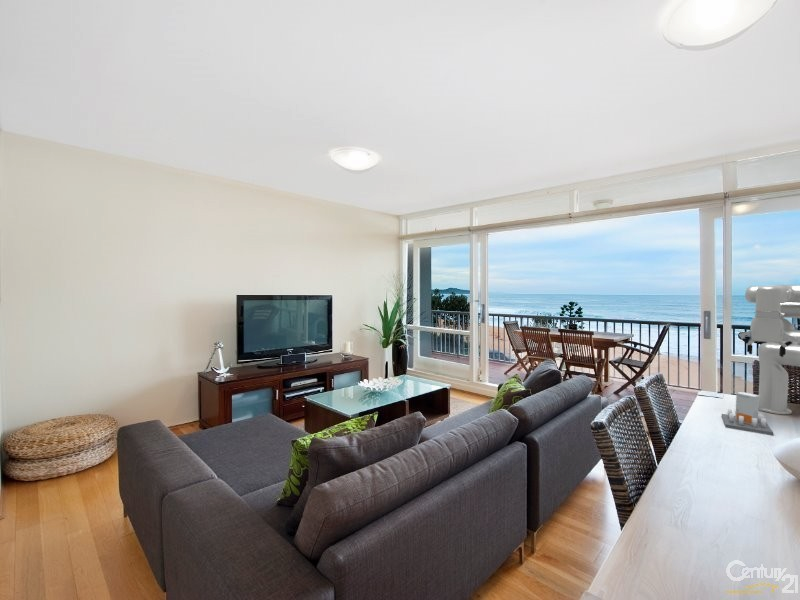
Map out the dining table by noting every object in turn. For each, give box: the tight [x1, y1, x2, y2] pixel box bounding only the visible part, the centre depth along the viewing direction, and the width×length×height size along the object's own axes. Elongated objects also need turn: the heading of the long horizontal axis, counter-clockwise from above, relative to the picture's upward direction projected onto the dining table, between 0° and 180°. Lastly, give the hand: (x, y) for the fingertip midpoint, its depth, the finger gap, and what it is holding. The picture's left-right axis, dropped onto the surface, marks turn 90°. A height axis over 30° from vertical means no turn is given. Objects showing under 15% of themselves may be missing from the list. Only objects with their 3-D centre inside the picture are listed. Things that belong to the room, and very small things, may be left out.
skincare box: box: [734, 391, 759, 425], centre depth 155 cm, size 6×4×12 cm
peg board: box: [721, 409, 774, 436], centre depth 155 cm, size 16×14×5 cm
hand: (765, 355), depth 161 cm, fingers open, 9 cm apart
